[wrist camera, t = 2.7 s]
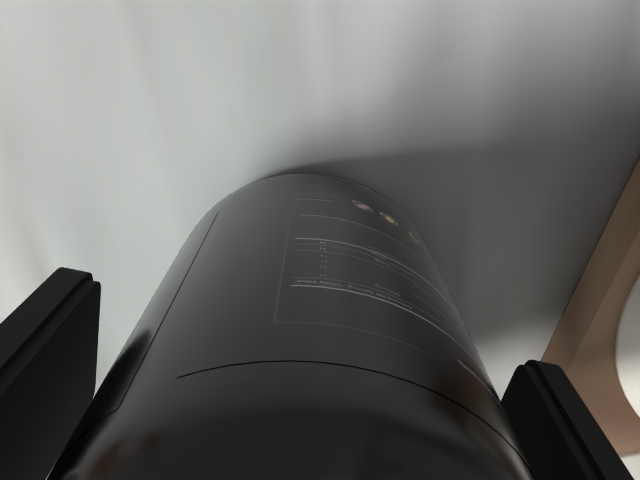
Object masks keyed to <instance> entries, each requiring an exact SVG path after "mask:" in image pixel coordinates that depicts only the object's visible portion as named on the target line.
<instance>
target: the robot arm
mask: <svg viewBox="0 0 640 480" xmlns="http://www.w3.org/2000/svg"><path fill="white" fill-rule="evenodd" d="M100 296H101V285H100V283H99V282H97V281H93V277H92V274H91V273H89V272H84V271H79V270H74V269H69V268H64V267H60V268H58V269H57V270H56V271H55V272H54V273H53V274H52V275H51V276H50V277H49V278H48V279H47V280H45V281H44V282H43V283H42V284H41V285H40V286H39V287H38V288H37V289H36V290H35V291H34V292H33V293H32V294H31V295H30V296H29V297H28V298H27V299H26V300H25V301H24V302H23V303H22V304H21V305H20V306H18V307H17V308H16V309H15V310H14V311H13V312H12V313H11V314H10V315H9V316H8V317H7V318H6V319H5V320H4V321H3V322H2V323H1V324H0V480H46V478H47V476H48V475H49V473H50V471H51V470H52V468H53V466H54V465H55V463H56V461H57V460H58V458H59V456H60V455H61V453H62V451H63V449H64V448H65V446H66V444H67V442H68V441H69V439H70V437H71V436H72V434H73V432H74V431H75V429H76V427H77V425H78V424H79V422H80V420H81V419H82V417H83V415H84V413H85V412H86V410H87V408H88V407H89V405H90V403H91V401H92V399H93V396H94V392H95V383H96V365H97V348H98V331H99V314H100ZM501 404H502V406H503V408H504V410H505V412H506V414H507V417H508V419H509V421H510V423H511V425H512V427H513V429H514V432H515V434H516V436H517V438H518V440H519V442H520V444H521V447H522V449H523V451H524V453H525V455H526V457H527V459H528V462H529V464H530V466H531V468H532V470H533V472H534V475H535V477H536V479H537V480H634V478H633V477H632V475H631V474H630V472H629V471H628V469H627V467H626V466H625V464H624V463H623V461H622V460H621V458H620V457H619V455H618V454H617V452H616V451H615V449H614V448H613V446H612V445H611V443H610V441H609V440H608V438H607V437H606V435H605V434H604V432H603V431H602V429H601V428H600V426H599V425H598V423H597V422H596V420H595V418H594V417H593V415H592V414H591V412H590V411H589V409H588V408H587V406H586V405H585V403H584V402H583V400H582V399H581V397H580V396H579V394H578V392H577V391H576V389H575V388H574V386H573V385H572V383H571V382H570V380H569V379H568V377H567V376H566V374H565V373H564V371H563V370H562V368H561V367H560V366H559V365H556V364H552V363H547V362H542V361H537V360H528V361H527V362H526V363H525V365H519V366H518V367H517V368H516V370H515V372H514V374H513V376H512V378H511V380H510V383H509V385H508V387H507V389H506V391H505V393H504V396H503V398H502V400H501Z"/></svg>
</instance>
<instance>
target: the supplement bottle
mask: <svg viewBox="0 0 640 480" xmlns="http://www.w3.org/2000/svg"><path fill="white" fill-rule="evenodd" d="M47 480H537V479H536V477H535V475H534V472H533V470H532V468H531V466H530V464H529V462H528V459H527V457H526V455H525V453H524V451H523V449H522V447H521V444H520V442H519V440H518V438H517V436H516V434H515V432H514V429H513V427H512V425H511V423H510V421H509V419H508V417H507V414H506V412H505V410H504V408H503V406H502V404H501V402H500V399H499V397H498V395H497V393H496V391H495V389H494V387H493V385H492V382H491V380H490V378H489V376H488V374H487V372H486V370H485V367H484V365H483V363H482V361H481V359H480V357H479V355H478V352H477V350H476V348H475V346H474V344H473V342H472V340H471V337H470V335H469V333H468V331H467V329H466V327H465V325H464V323H463V320H462V318H461V316H460V314H459V312H458V310H457V308H456V305H455V303H454V301H453V299H452V297H451V295H450V293H449V290H448V288H447V286H446V284H445V282H444V280H443V278H442V275H441V273H440V271H439V269H438V267H437V265H436V263H435V261H434V259H433V257H432V255H431V253H430V251H429V249H428V247H427V245H426V244H425V242H424V240H423V238H422V236H421V235H420V233H419V232H418V230H417V229H416V228H415V226H414V225H413V223H412V222H411V221H410V220H409V219H408V218H407V216H406V215H405V214H404V213H403V212H402V211H401V210H400V209H399V208H398V207H396V206H395V205H394V204H393V203H392V202H390V201H389V200H388V199H386V198H385V197H384V196H382V195H380V194H379V193H377V192H375V191H374V190H372V189H370V188H368V187H365V186H363V185H361V184H359V183H356V182H353V181H350V180H348V179H344V178H340V177H336V176H331V175H324V174H314V173H295V174H286V175H278V176H274V177H270V178H266V179H262V180H260V181H257V182H254V183H251V184H249V185H247V186H244V187H242V188H240V189H238V190H237V191H235V192H233V193H231V194H230V195H228V196H227V197H225V198H224V199H223V200H221V201H220V202H219V203H217V204H216V205H215V206H214V207H213V208H212V209H211V210H210V211H209V212H208V213H207V214H206V215H205V216H204V217H203V218H202V219H201V221H200V222H199V223H198V224H197V225H196V227H195V228H194V230H193V231H192V232H191V234H190V235H189V237H188V239H187V240H186V242H185V243H184V245H183V246H182V248H181V249H180V251H179V253H178V255H177V256H176V258H175V260H174V261H173V263H172V265H171V266H170V268H169V270H168V272H167V273H166V275H165V277H164V278H163V280H162V282H161V284H160V285H159V287H158V289H157V290H156V292H155V294H154V296H153V297H152V299H151V301H150V302H149V304H148V306H147V307H146V309H145V311H144V313H143V314H142V316H141V318H140V319H139V321H138V323H137V325H136V326H135V328H134V330H133V331H132V333H131V335H130V337H129V338H128V340H127V342H126V343H125V345H124V347H123V348H122V350H121V352H120V354H119V355H118V357H117V359H116V360H115V362H114V364H113V366H112V367H111V369H110V371H109V372H108V374H107V376H106V377H105V379H104V381H103V383H102V384H101V386H100V388H99V389H98V391H97V393H96V395H95V396H94V398H93V400H92V401H91V403H90V405H89V407H88V408H87V410H86V412H85V413H84V415H83V417H82V419H81V420H80V422H79V424H78V425H77V427H76V429H75V431H74V432H73V434H72V436H71V437H70V439H69V441H68V442H67V444H66V446H65V448H64V449H63V451H62V453H61V455H60V456H59V458H58V460H57V462H56V463H55V465H54V467H53V469H52V471H51V472H50V474H49V476H48V478H47Z"/></svg>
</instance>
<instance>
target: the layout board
mask: <svg viewBox="0 0 640 480" xmlns="http://www.w3.org/2000/svg"><path fill="white" fill-rule="evenodd" d="M541 361H542V362H547V363H552V364H556V365H559V366H560V367H561V368H562V370H563V371H564V373H565V374H566V376H567V377H568V379H569V380H570V382H571V383H572V385H573V386H574V388H575V389H576V391H577V392H578V394H579V396H580V397H581V399H582V400H583V402H584V403H585V405H586V406H587V408H588V409H589V411H590V412H591V414H592V415H593V417H594V418H595V420H596V422H597V423H598V425H599V426H600V428H601V429H602V431H603V432H604V434H605V435H606V437H607V438H608V440H609V441H610V443H611V445H612V446H613V448H614V449H615V451H616V452H617V454H618V455H619V457H620V458H621V460H622V461H623V463H624V464H625V466H626V467H627V469H628V471H629V472H630V474H631V475H632V477H633V478H634V480H640V157H639V159H638V161H637V163H636V165H635V167H634V170H633V172H632V174H631V176H630V178H629V180H628V182H627V184H626V186H625V188H624V190H623V192H622V194H621V196H620V198H619V200H618V203H617V205H616V207H615V209H614V211H613V213H612V215H611V217H610V219H609V221H608V223H607V225H606V227H605V229H604V231H603V233H602V235H601V238H600V240H599V242H598V244H597V246H596V248H595V250H594V252H593V254H592V256H591V258H590V260H589V262H588V264H587V266H586V268H585V271H584V273H583V275H582V277H581V279H580V281H579V283H578V285H577V287H576V289H575V291H574V293H573V295H572V297H571V299H570V301H569V304H568V306H567V308H566V310H565V312H564V314H563V316H562V318H561V320H560V322H559V324H558V326H557V328H556V330H555V332H554V334H553V337H552V339H551V341H550V343H549V345H548V347H547V349H546V351H545V353H544V355H543V357H542V359H541Z"/></svg>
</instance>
